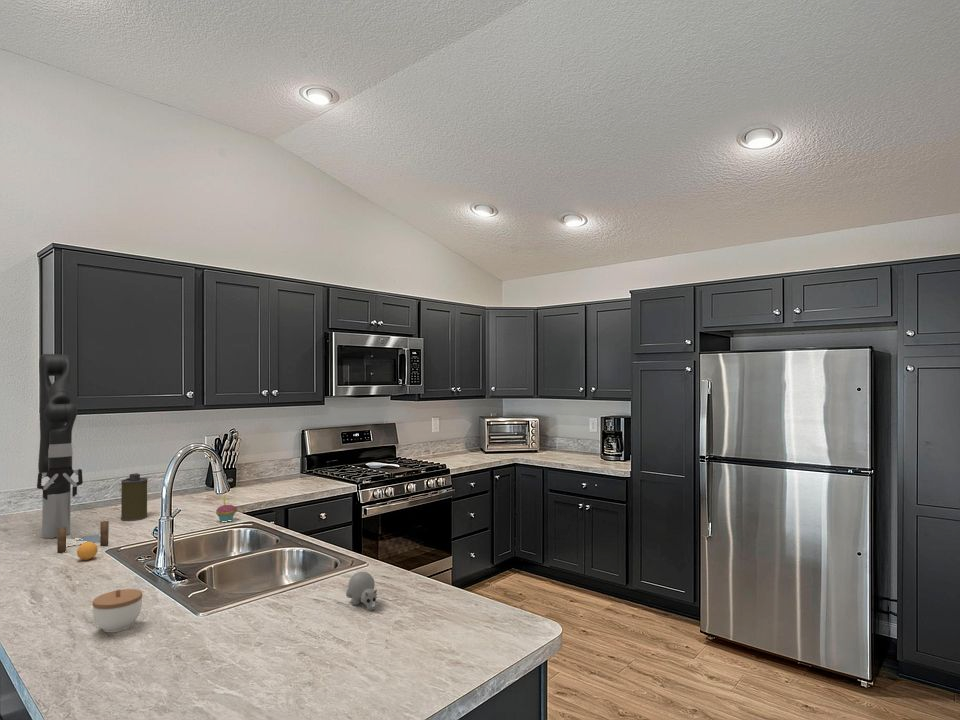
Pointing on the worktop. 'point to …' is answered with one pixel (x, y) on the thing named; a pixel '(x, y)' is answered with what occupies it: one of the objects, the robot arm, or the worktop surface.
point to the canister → (134, 498)
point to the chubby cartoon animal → (362, 590)
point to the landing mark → (90, 538)
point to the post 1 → (61, 540)
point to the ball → (87, 550)
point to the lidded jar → (117, 609)
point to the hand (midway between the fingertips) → (60, 498)
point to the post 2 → (104, 533)
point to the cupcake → (226, 511)
